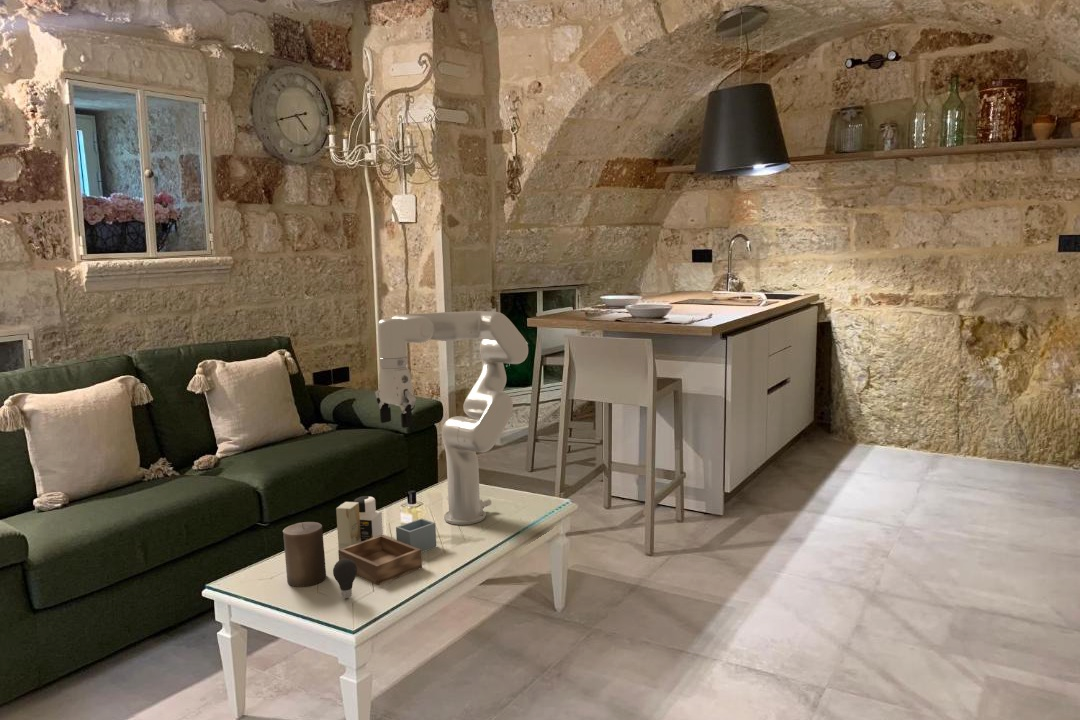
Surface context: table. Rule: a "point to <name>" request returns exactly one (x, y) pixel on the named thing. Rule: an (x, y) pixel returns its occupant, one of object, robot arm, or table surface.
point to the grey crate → (418, 534)
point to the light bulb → (345, 576)
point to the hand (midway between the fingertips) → (396, 424)
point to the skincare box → (348, 524)
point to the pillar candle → (304, 554)
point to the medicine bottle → (369, 518)
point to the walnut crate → (382, 558)
